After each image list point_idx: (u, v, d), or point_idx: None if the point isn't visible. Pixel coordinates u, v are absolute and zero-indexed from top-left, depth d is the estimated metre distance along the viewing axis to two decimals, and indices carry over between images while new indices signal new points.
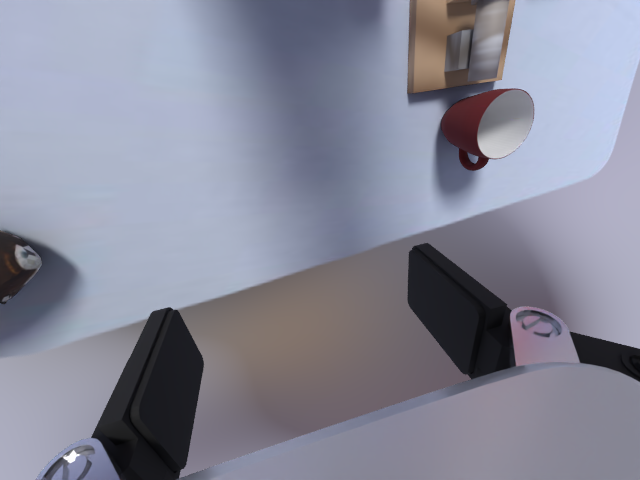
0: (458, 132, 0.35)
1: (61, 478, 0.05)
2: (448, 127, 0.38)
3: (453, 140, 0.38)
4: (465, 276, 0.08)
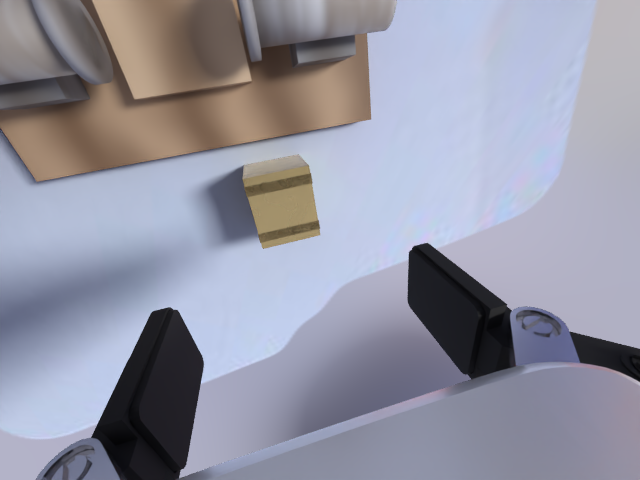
0: None
1: (61, 478, 0.05)
2: None
3: None
4: (465, 276, 0.08)
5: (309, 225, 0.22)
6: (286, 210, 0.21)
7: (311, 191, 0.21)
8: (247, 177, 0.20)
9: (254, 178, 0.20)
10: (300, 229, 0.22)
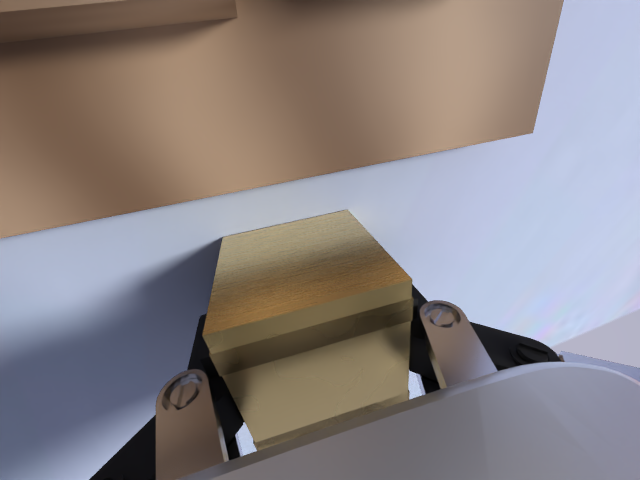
0: None
1: (178, 396, 0.07)
2: None
3: None
4: None
5: (384, 404, 0.09)
6: (334, 385, 0.08)
7: (405, 338, 0.07)
8: (220, 324, 0.06)
9: (243, 329, 0.06)
10: (363, 414, 0.09)
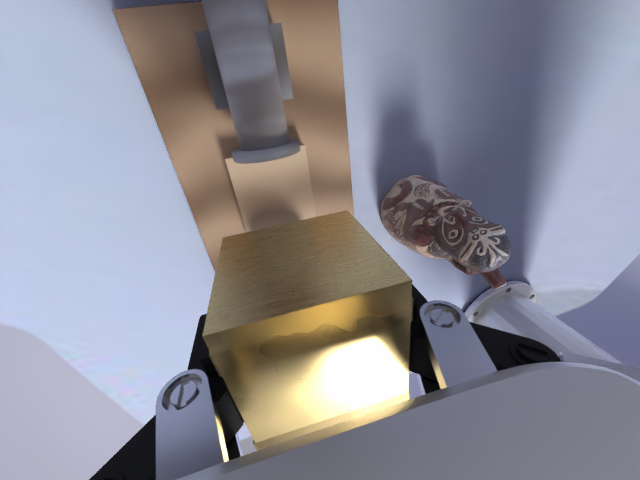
0: None
1: (178, 396, 0.07)
2: None
3: None
4: None
5: (385, 404, 0.09)
6: (334, 386, 0.08)
7: (405, 339, 0.07)
8: (220, 325, 0.06)
9: (242, 330, 0.06)
10: None
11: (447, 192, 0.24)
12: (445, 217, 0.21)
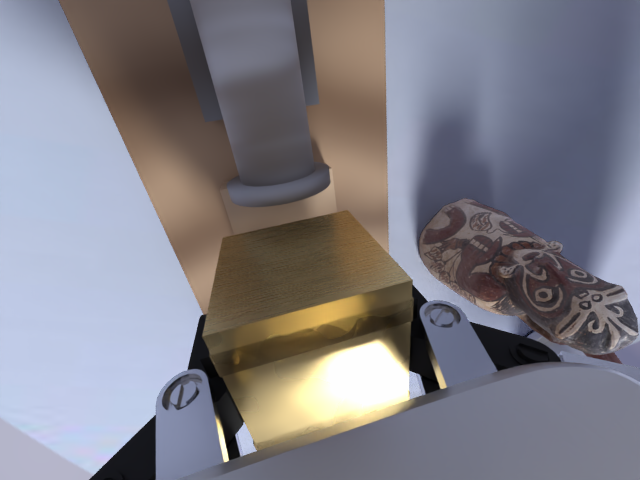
0: None
1: (178, 396, 0.07)
2: None
3: None
4: None
5: (385, 405, 0.09)
6: (334, 386, 0.08)
7: (406, 339, 0.07)
8: (220, 325, 0.06)
9: (242, 330, 0.06)
10: None
11: (516, 226, 0.18)
12: (527, 268, 0.15)
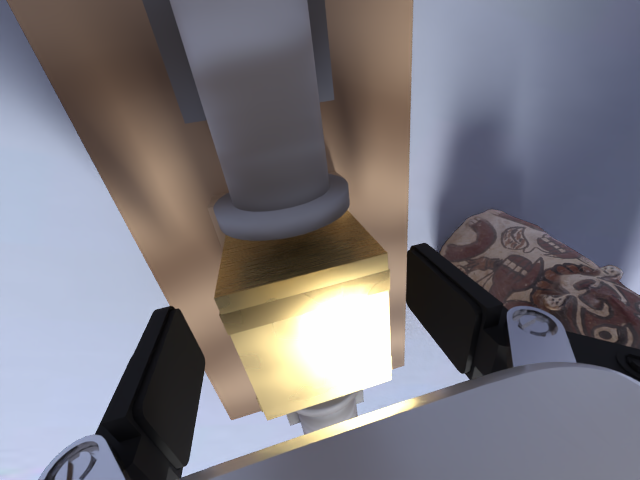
0: None
1: (66, 474, 0.05)
2: None
3: None
4: (462, 275, 0.08)
5: (370, 367, 0.10)
6: (325, 347, 0.09)
7: (385, 306, 0.09)
8: (228, 290, 0.07)
9: (247, 293, 0.07)
10: (351, 377, 0.10)
11: (557, 244, 0.16)
12: (582, 300, 0.12)
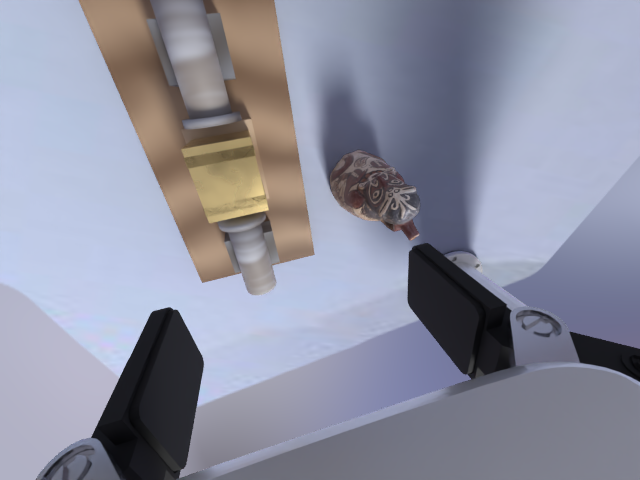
0: None
1: (61, 478, 0.05)
2: None
3: None
4: (465, 276, 0.08)
5: (256, 199, 0.22)
6: (231, 183, 0.21)
7: (255, 164, 0.21)
8: (186, 148, 0.19)
9: (193, 149, 0.19)
10: (247, 203, 0.22)
11: (381, 163, 0.28)
12: (372, 181, 0.25)
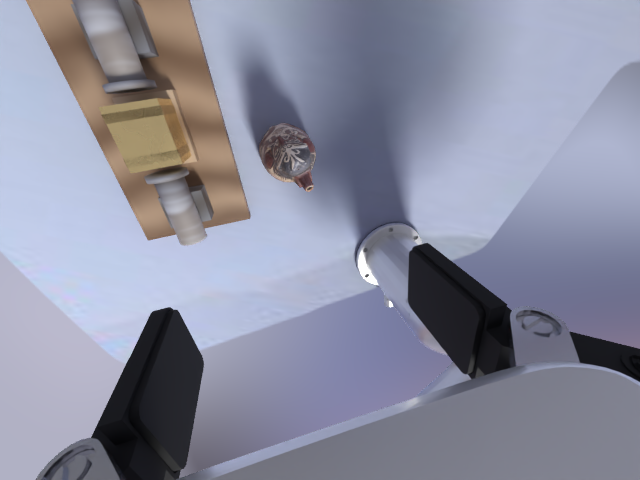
0: None
1: (61, 478, 0.05)
2: None
3: None
4: (465, 276, 0.08)
5: (169, 153, 0.27)
6: (145, 138, 0.26)
7: (164, 122, 0.25)
8: None
9: (109, 107, 0.24)
10: (162, 157, 0.27)
11: (294, 131, 0.32)
12: (276, 142, 0.29)
